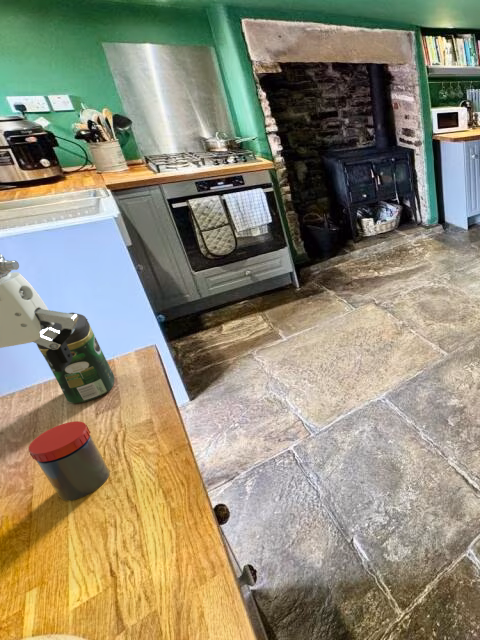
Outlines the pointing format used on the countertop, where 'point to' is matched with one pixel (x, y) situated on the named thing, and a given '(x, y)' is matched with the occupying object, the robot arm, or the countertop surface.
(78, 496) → the jam jar
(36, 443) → the jam lid
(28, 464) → the countertop surface
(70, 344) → the coffee jar
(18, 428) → the countertop surface
